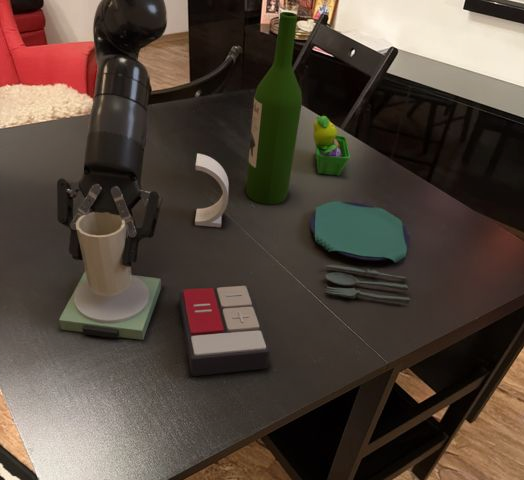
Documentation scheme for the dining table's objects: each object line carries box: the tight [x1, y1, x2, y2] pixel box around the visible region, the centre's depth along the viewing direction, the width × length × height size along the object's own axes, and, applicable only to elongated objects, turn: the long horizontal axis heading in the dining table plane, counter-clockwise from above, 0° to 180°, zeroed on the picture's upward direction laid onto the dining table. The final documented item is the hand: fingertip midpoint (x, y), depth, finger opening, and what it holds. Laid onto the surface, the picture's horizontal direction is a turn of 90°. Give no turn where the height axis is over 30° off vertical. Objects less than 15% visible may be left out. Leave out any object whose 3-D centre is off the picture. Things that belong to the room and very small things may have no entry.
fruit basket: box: [312, 115, 351, 176], centre depth 111 cm, size 11×9×11 cm
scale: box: [58, 271, 162, 341], centre depth 73 cm, size 12×13×3 cm
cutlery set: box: [309, 200, 411, 305], centre depth 91 cm, size 20×30×2 cm, turn 174°
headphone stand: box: [194, 152, 230, 228], centre depth 89 cm, size 5×6×12 cm
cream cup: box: [76, 211, 133, 296], centre depth 67 cm, size 6×6×10 cm
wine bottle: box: [245, 11, 303, 205], centre depth 91 cm, size 9×9×32 cm
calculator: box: [179, 285, 271, 377], centre depth 71 cm, size 11×4×15 cm
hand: (102, 262), depth 66 cm, fingers closed on cream cup, 6 cm apart
